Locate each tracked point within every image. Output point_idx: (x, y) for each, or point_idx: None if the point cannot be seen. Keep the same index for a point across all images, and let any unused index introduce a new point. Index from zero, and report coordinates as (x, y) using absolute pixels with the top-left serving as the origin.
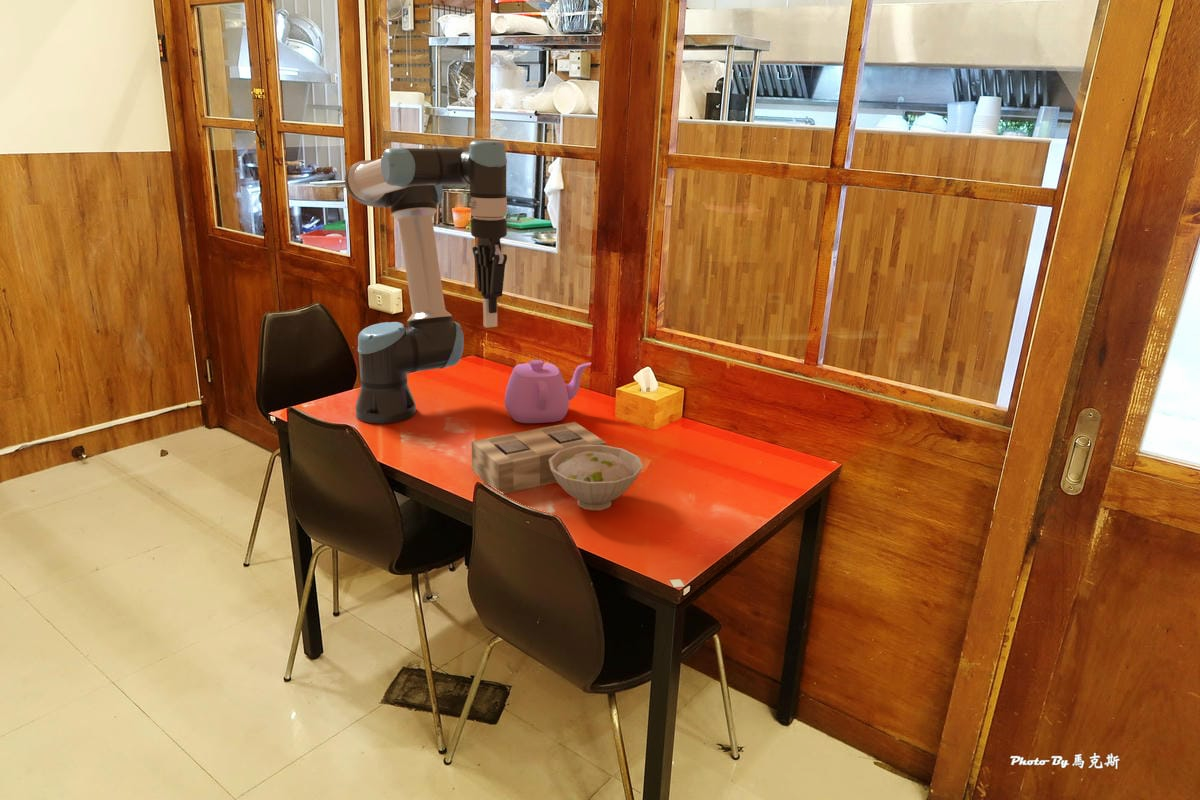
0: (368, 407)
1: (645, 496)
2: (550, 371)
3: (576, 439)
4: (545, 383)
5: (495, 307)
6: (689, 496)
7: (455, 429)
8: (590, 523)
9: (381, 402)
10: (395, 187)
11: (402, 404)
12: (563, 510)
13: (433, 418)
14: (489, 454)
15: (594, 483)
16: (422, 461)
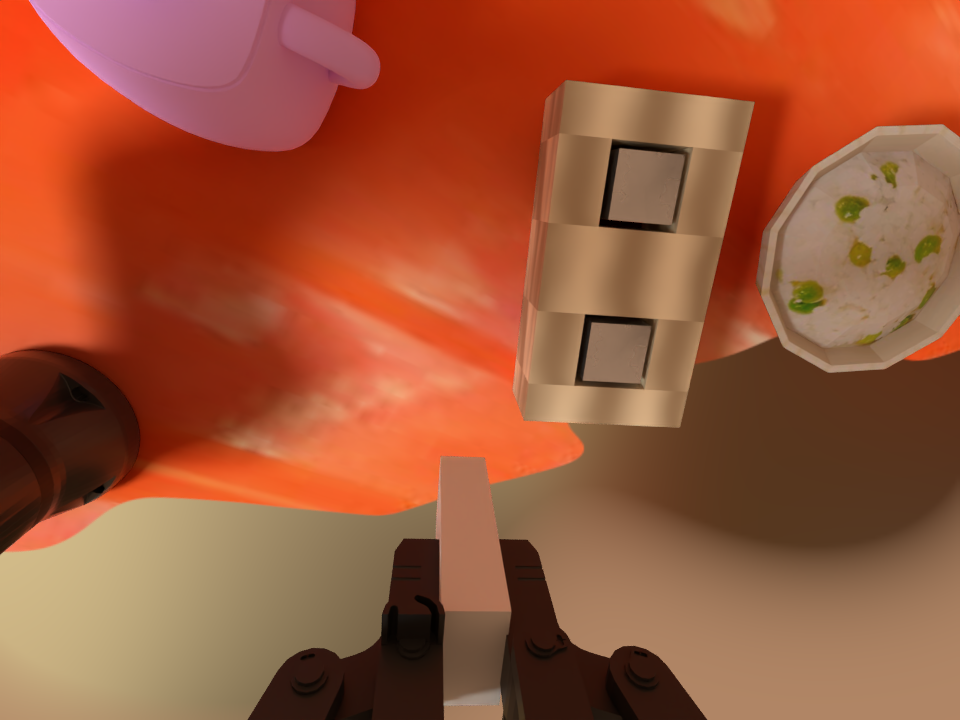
0: (79, 501)
1: (864, 122)
2: None
3: (680, 169)
4: (329, 28)
5: (540, 580)
6: (943, 20)
7: (251, 316)
8: None
9: (87, 485)
10: None
11: (94, 425)
12: None
13: (140, 332)
14: (619, 419)
15: (948, 327)
16: (410, 457)
